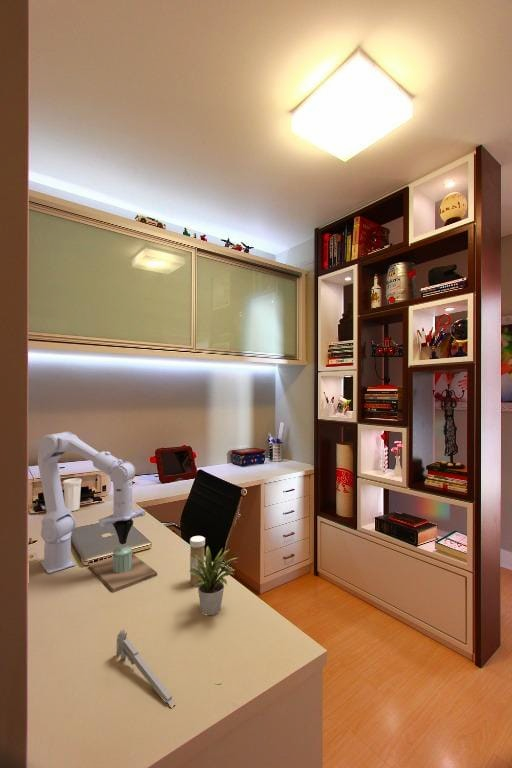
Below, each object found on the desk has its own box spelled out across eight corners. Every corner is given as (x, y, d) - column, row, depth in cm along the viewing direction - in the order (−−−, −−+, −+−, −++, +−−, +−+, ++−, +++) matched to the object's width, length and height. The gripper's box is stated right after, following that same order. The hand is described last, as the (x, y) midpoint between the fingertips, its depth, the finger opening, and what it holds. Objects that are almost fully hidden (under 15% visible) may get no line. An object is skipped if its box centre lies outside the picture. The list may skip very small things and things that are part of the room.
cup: (58, 512, 173) (59, 482, 173) (70, 506, 181) (70, 477, 181) (74, 513, 172) (74, 482, 172) (85, 507, 180) (85, 478, 180)
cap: (110, 568, 118) (110, 549, 118) (127, 562, 122) (127, 544, 122) (117, 574, 114) (117, 555, 114) (134, 568, 118) (134, 550, 118)
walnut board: (88, 567, 120) (88, 564, 120) (129, 554, 130) (129, 551, 130) (113, 592, 106) (113, 588, 106) (157, 575, 115) (157, 572, 115)
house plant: (221, 636, 87) (221, 568, 87) (172, 622, 92) (173, 557, 93) (245, 603, 100) (245, 544, 101) (201, 593, 106) (201, 536, 106)
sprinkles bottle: (207, 583, 111) (207, 539, 111) (193, 588, 108) (193, 542, 108) (200, 577, 115) (201, 534, 115) (187, 581, 112) (187, 537, 112)
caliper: (116, 656, 81) (116, 628, 81) (120, 654, 82) (120, 626, 82) (171, 710, 68) (171, 676, 68) (176, 706, 68) (176, 672, 68)
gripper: (105, 509, 110) (104, 554, 110) (149, 499, 120) (149, 540, 120) (96, 503, 115) (96, 546, 115) (139, 494, 125) (139, 534, 125)
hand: (122, 543), depth 118 cm, fingers closed
